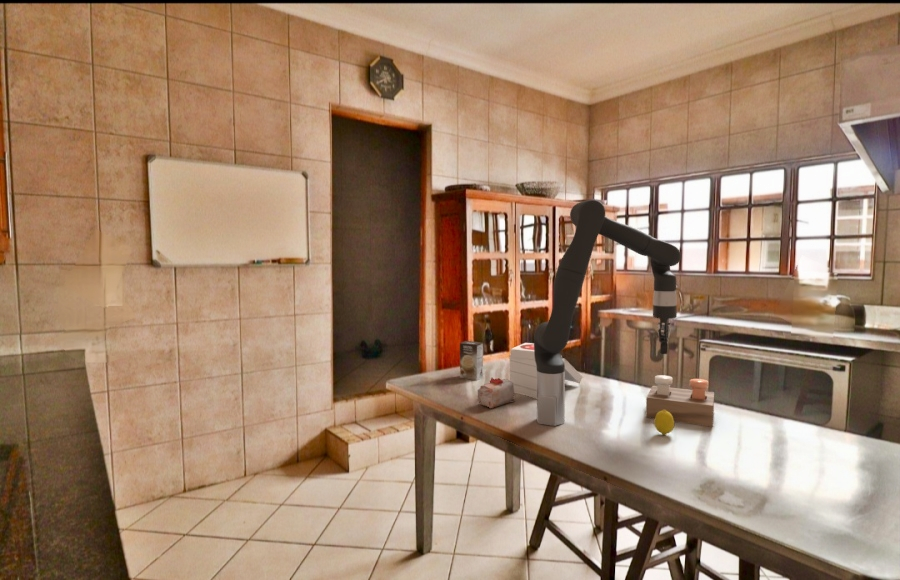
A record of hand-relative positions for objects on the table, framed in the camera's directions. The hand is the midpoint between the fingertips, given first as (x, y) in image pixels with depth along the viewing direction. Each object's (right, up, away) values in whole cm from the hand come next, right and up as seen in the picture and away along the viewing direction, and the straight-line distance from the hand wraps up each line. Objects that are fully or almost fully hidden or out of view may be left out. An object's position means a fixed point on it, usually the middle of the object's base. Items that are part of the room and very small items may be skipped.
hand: (664, 353), depth 173 cm
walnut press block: (+5, -21, -1) cm, 22 cm away
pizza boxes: (-35, -19, +34) cm, 52 cm away
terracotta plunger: (+10, -17, -4) cm, 20 cm away
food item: (-57, -21, +15) cm, 62 cm away
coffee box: (-64, -18, +53) cm, 85 cm away
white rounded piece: (0, -17, +1) cm, 17 cm away
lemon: (-8, -23, -19) cm, 31 cm away
